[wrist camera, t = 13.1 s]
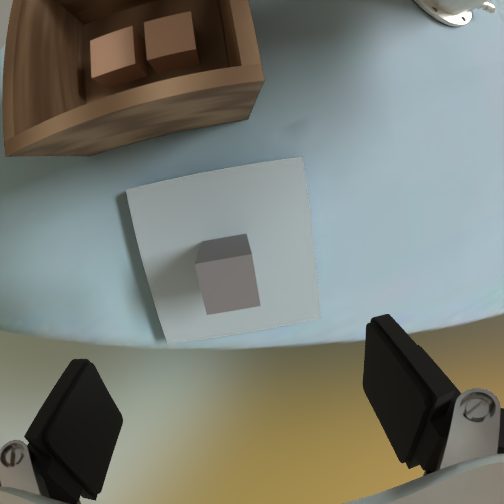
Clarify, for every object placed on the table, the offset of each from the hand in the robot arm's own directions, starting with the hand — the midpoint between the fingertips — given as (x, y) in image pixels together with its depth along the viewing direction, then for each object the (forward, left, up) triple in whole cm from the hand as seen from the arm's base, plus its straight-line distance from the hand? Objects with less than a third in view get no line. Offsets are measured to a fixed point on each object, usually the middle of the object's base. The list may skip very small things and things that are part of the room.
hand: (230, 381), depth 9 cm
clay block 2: (+2, -19, -20) cm, 27 cm away
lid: (0, +2, -20) cm, 20 cm away
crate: (+4, -19, -21) cm, 28 cm away
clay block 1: (+7, -19, -20) cm, 28 cm away
